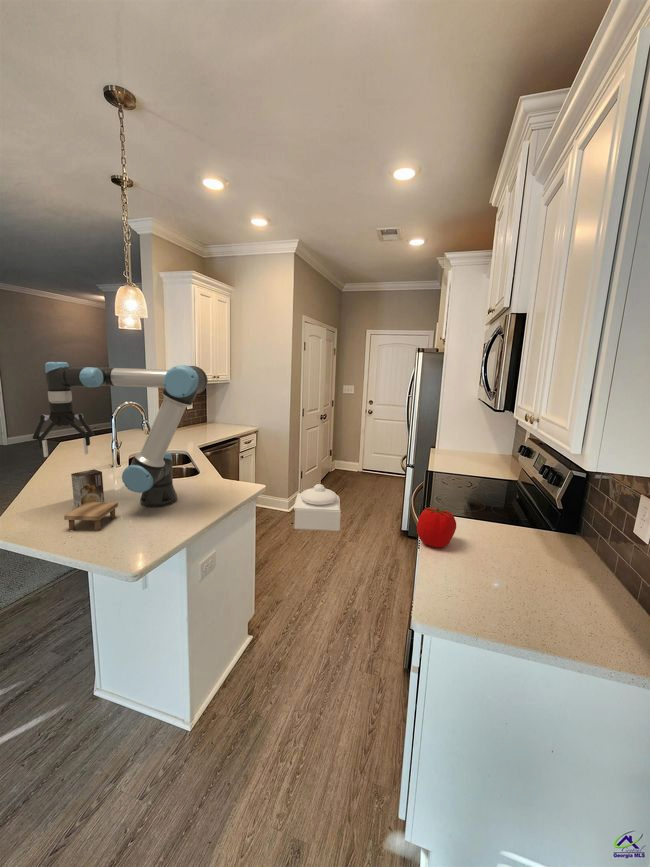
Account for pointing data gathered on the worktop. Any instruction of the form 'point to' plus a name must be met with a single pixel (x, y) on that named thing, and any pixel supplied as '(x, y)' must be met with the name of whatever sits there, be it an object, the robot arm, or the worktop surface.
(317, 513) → the white lidded dish
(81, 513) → the stool
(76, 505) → the coffee box
